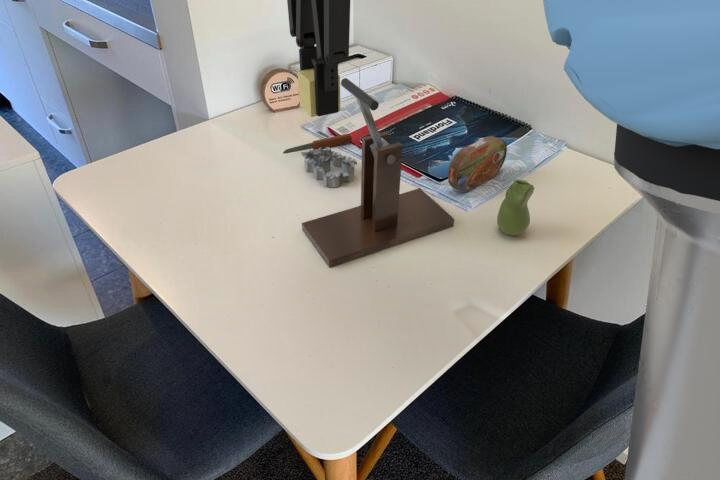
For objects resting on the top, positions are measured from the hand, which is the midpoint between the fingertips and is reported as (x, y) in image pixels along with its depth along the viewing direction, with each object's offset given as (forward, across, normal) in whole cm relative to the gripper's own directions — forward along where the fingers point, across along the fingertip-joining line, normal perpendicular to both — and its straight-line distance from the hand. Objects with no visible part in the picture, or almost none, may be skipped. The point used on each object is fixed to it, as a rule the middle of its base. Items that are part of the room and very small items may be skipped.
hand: (319, 105), depth 65 cm
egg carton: (+28, +25, -13) cm, 40 cm away
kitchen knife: (+28, +35, -15) cm, 47 cm away
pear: (+27, -6, -32) cm, 43 cm away
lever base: (+27, +5, -12) cm, 31 cm away
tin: (+28, +10, -37) cm, 47 cm away
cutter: (+8, +5, -9) cm, 14 cm away
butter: (0, 0, 0) cm, 0 cm away
